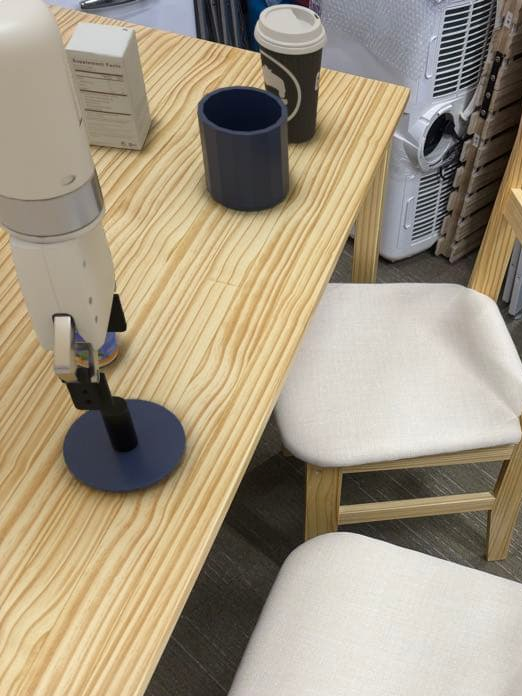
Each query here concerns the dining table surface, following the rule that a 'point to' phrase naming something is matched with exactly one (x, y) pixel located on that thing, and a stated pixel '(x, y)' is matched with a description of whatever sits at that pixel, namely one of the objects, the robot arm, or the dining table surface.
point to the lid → (124, 446)
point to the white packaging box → (109, 85)
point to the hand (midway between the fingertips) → (103, 367)
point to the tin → (244, 147)
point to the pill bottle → (99, 350)
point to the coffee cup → (292, 63)
